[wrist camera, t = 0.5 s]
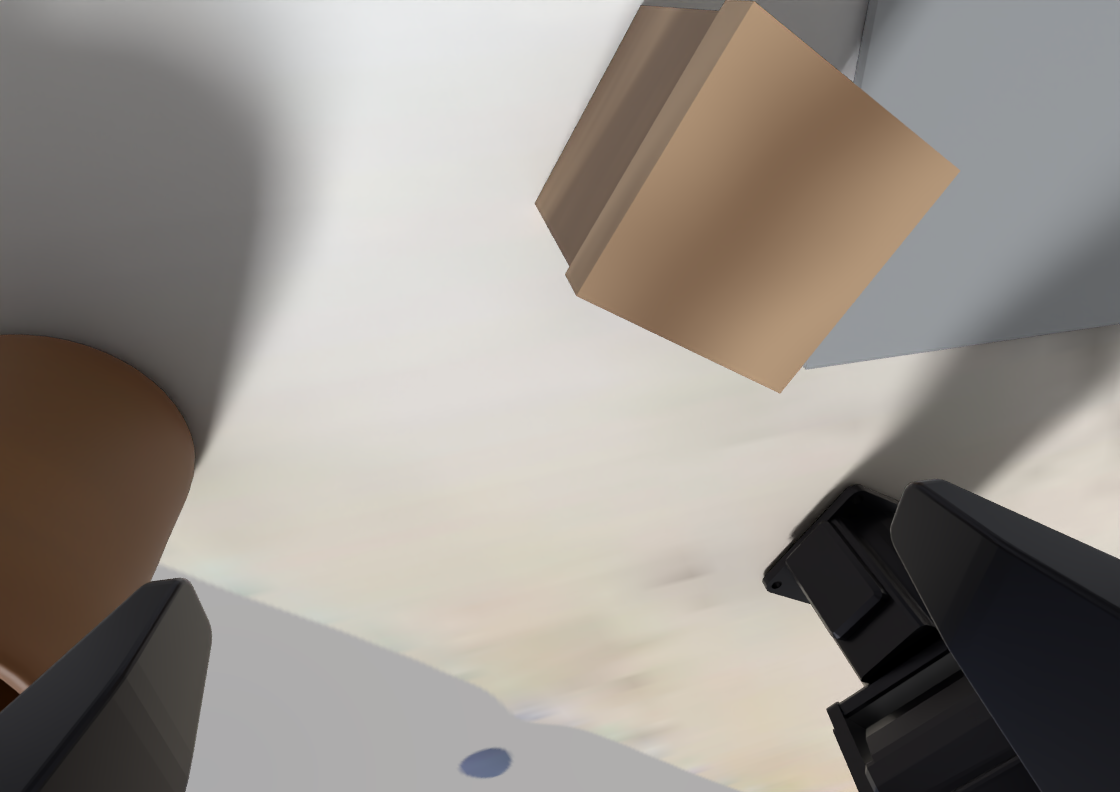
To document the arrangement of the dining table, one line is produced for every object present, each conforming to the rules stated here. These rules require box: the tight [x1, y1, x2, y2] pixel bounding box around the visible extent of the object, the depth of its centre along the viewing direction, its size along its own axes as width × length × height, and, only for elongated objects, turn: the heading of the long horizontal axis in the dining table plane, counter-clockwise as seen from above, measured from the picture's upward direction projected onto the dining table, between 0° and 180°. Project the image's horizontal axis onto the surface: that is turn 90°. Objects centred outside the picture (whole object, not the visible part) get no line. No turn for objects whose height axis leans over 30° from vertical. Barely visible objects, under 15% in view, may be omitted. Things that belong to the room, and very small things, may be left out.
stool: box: [535, 0, 960, 393], centre depth 16 cm, size 6×6×6 cm
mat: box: [803, 0, 1120, 369], centre depth 21 cm, size 16×12×1 cm
